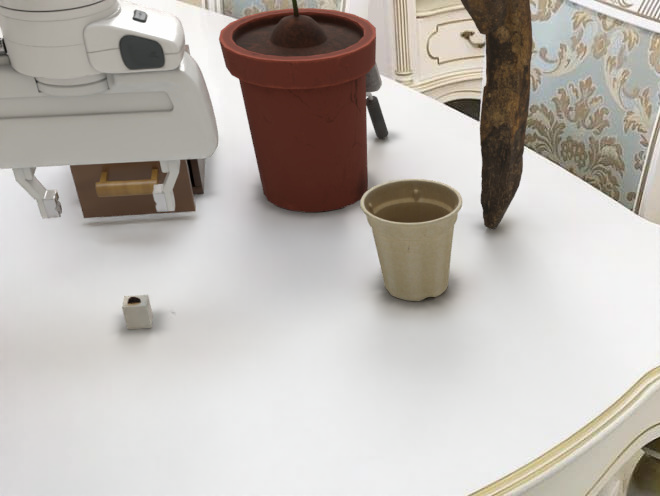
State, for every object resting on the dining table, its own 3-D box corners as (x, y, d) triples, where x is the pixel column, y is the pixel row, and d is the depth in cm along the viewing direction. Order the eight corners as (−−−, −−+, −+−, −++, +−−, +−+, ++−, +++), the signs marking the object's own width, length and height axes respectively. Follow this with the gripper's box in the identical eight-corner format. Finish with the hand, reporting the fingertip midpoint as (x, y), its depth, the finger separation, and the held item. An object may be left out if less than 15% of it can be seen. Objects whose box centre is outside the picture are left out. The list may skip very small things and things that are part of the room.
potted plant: (216, 173, 126) (170, -84, 108) (384, 133, 134) (368, -111, 116) (281, 235, 115) (243, -37, 97) (460, 188, 124) (455, -70, 106)
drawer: (194, 229, 114) (177, 142, 108) (80, 237, 112) (55, 149, 106) (198, 158, 126) (182, 76, 120) (94, 164, 124) (73, 81, 118)
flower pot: (367, 312, 105) (359, 224, 99) (367, 264, 111) (360, 179, 105) (466, 309, 105) (464, 222, 99) (461, 262, 112) (459, 177, 106)
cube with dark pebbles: (127, 329, 102) (121, 304, 100) (129, 317, 103) (123, 293, 102) (151, 328, 102) (145, 303, 100) (153, 316, 104) (147, 291, 102)
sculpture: (441, 234, 116) (430, -103, 94) (479, 208, 120) (476, -120, 99) (498, 251, 114) (500, -90, 92) (534, 223, 118) (544, -109, 96)
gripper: (-87, 55, 81) (-24, 236, 91) (197, 44, 84) (229, 221, 93) (-70, 27, 85) (-12, 202, 95) (200, 17, 88) (230, 189, 98)
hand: (109, 212), depth 94 cm, fingers open, 8 cm apart
